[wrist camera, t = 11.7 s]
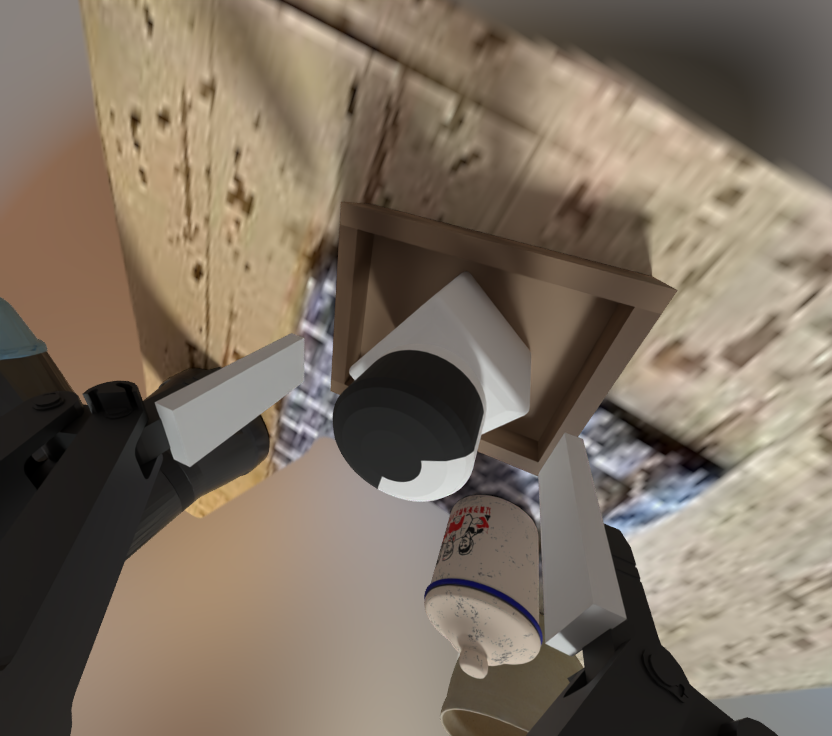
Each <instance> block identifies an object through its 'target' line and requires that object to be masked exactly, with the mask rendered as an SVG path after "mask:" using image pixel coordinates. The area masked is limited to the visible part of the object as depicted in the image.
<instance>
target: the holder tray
mask: <svg viewBox="0 0 832 736" xmlns="http://www.w3.org/2000/svg"><path fill="white" fill-rule="evenodd" d="M465 271H467V272H469V273H470V274H471V275H472V276H473V278H474V279H475V280H476V281H477V283H478V284H479V285H480V287H481V288H482V289H483V291H484V292H485V293H486V294H487V296H488V297H489V298H490V300H491V301H492V302H493V304H494V305H495V306H496V307H497V309H498V310H499V311H500V313H501V314H502V315H503V317H504V318H505V319H506V320H507V322H508V323H509V324H510V326H511V327H512V328H513V330H514V331H515V332H516V333H517V335H518V336H519V337H520V339H521V340H522V341H523V343H524V344H525V345H526V346H527V348H528V349H529V350H530V352H531V381H530V408H529V412H528V413H527V414H526V415H524V416H522V417H519V418H517V419H515V420H513V421H511V422H508V423H506V424H504V425H502V426H499V427H497V428H495V429H493V430H491V431H488V432H486V433H484V434H482V435H481V438H480V442H479V446H478V450H477V451H478V452H480V453H483V454H485V455H487V456H490V457H492V458H495V459H497V460H500V461H502V462H504V463H507V464H509V465H512V466H514V467H517V468H519V469H521V470H524V471H526V472H529V473H531V474H534V475H536V476H539V475H538V474H539V472H540V471H541V469H542V467H543V466H544V464H545V463H546V461H547V460H548V458H549V456H550V455H551V453H552V452H553V450H554V449H555V447H556V445H557V444H558V442H559V441H560V439H561V438H562V436H563V434H564V433H568V434H570V435H573V436H576V437H578V436H579V434H580V433H581V432H582V430H583V429H584V427H585V426H586V424H587V423H588V421H589V420H590V418H591V417H592V415H593V414H594V412H595V411H596V410H597V408H598V407H599V405H600V404H601V402H602V401H603V399H604V398H605V396H606V395H607V393H608V392H609V390H610V389H611V387H612V386H613V385H614V383H615V382H616V380H617V379H618V377H619V376H620V374H621V373H622V371H623V370H624V368H625V367H626V365H627V364H628V363H629V361H630V360H631V358H632V357H633V355H634V354H635V352H636V351H637V349H638V348H639V346H640V345H641V343H642V342H643V340H644V339H645V338H646V336H647V335H648V333H649V332H650V330H651V329H652V327H653V326H654V324H655V323H656V321H657V320H658V318H659V317H660V315H661V314H662V313H663V311H664V310H665V308H666V307H667V305H668V304H669V302H670V301H671V299H672V298H673V296H674V295H675V293H676V292H677V291H678V290H676V289H674V288H672V287H671V286H669V285H667V284H665V283H663V282H662V281H660V280H658V279H656V278H654V277H652V276H648V275H644V274H640V273H637V272H633V271H629V270H625V269H621V268H617V267H613V266H609V265H606V264H602V263H598V262H594V261H590V260H586V259H582V258H578V257H575V256H571V255H567V254H563V253H559V252H555V251H551V250H547V249H544V248H540V247H536V246H532V245H528V244H524V243H520V242H516V241H513V240H509V239H505V238H501V237H497V236H493V235H489V234H485V233H482V232H478V231H474V230H470V229H466V228H462V227H458V226H454V225H451V224H447V223H443V222H439V221H435V220H431V219H427V218H423V217H420V216H416V215H412V214H408V213H404V212H400V211H396V210H392V209H389V208H385V207H381V206H377V205H373V204H369V203H350V202H341V213H340V231H339V249H338V267H337V285H336V302H335V320H334V338H333V356H332V374H331V391H332V392H334V393H337V394H339V395H341V393H342V392H343V391H344V390H345V389H346V388H347V387H348V386H349V385H350V384H352V383H353V382H354V381H355V380H354V379H353V378H352V376H351V375H350V374H349V370H350V368H351V366H352V365H353V364H355V363H356V362H357V361H358V360H359V359H360V358H362V357H363V356H364V355H365V354H366V353H367V352H369V351H370V350H371V349H372V348H373V347H374V346H376V345H377V344H378V343H379V342H380V341H381V340H383V339H384V338H385V337H386V336H387V335H388V334H390V333H391V332H392V331H393V330H394V329H395V328H397V327H398V326H399V325H400V324H401V323H402V322H404V321H405V320H406V319H407V318H408V317H409V316H411V315H412V314H413V313H414V312H415V311H416V310H418V309H419V308H420V307H421V306H422V305H423V304H425V303H426V302H427V301H428V300H429V299H430V298H432V297H433V296H434V295H435V294H436V293H438V292H439V291H440V290H441V289H443V288H444V287H445V286H446V285H448V284H449V283H450V282H451V281H452V280H454V279H455V278H456V277H457V276H459V275H460V274H461V273H462V272H465Z"/></svg>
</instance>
